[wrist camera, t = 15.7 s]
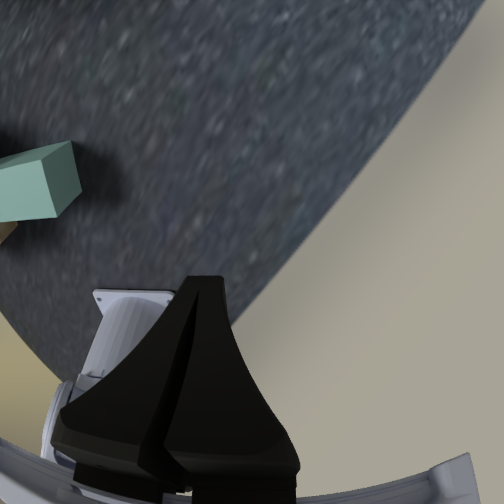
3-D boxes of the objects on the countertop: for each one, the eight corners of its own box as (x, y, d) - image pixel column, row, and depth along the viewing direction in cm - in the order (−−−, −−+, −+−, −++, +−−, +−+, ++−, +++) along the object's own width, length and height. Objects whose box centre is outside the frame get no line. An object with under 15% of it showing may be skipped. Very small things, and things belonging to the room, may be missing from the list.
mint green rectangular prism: (83, 189, 19) (57, 217, 16) (-10, 203, 19) (-35, 226, 16) (72, 139, 17) (40, 159, 14) (-22, 165, 17) (-50, 185, 14)
